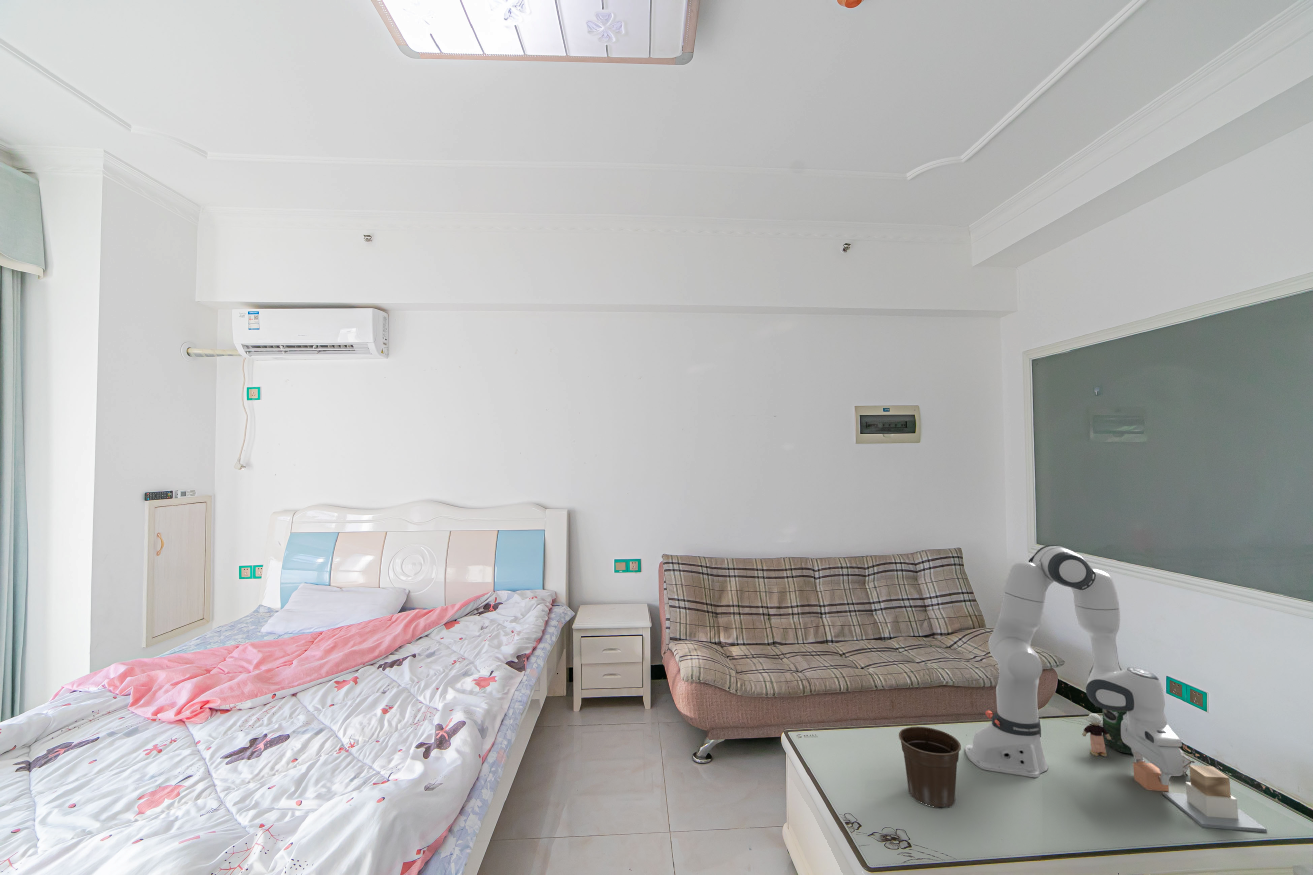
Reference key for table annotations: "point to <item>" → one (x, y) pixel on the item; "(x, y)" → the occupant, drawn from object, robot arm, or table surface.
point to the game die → (1185, 762)
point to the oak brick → (1210, 781)
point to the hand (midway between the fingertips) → (1152, 774)
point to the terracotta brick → (1148, 776)
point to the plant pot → (930, 764)
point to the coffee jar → (1114, 730)
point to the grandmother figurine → (1096, 735)
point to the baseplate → (1213, 820)
